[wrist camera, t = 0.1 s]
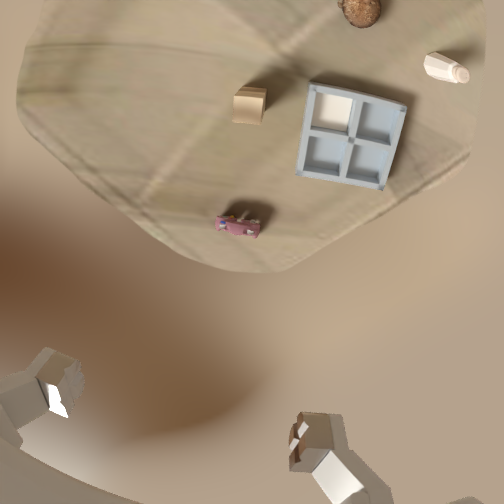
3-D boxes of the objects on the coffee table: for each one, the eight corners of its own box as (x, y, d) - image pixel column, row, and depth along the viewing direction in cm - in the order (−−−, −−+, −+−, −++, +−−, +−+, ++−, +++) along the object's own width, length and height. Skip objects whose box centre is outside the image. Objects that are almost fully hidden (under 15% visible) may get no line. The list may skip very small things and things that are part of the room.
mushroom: (320, -1, 34) (349, 1, 30) (346, -23, 32) (375, -22, 28) (343, 32, 40) (371, 38, 36) (365, 9, 38) (393, 14, 34)
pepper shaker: (422, 50, 39) (449, 56, 30) (446, 53, 37) (477, 61, 29) (423, 77, 42) (450, 89, 34) (447, 80, 41) (477, 93, 33)
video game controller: (262, 218, 69) (262, 223, 62) (257, 237, 70) (257, 244, 63) (219, 209, 69) (214, 213, 62) (215, 229, 70) (210, 235, 63)
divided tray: (308, 81, 47) (310, 84, 44) (401, 102, 46) (407, 106, 44) (295, 167, 58) (295, 175, 56) (379, 182, 58) (383, 190, 55)
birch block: (242, 86, 49) (234, 95, 42) (267, 88, 49) (263, 98, 42) (240, 108, 52) (232, 122, 45) (264, 111, 51) (260, 124, 45)
